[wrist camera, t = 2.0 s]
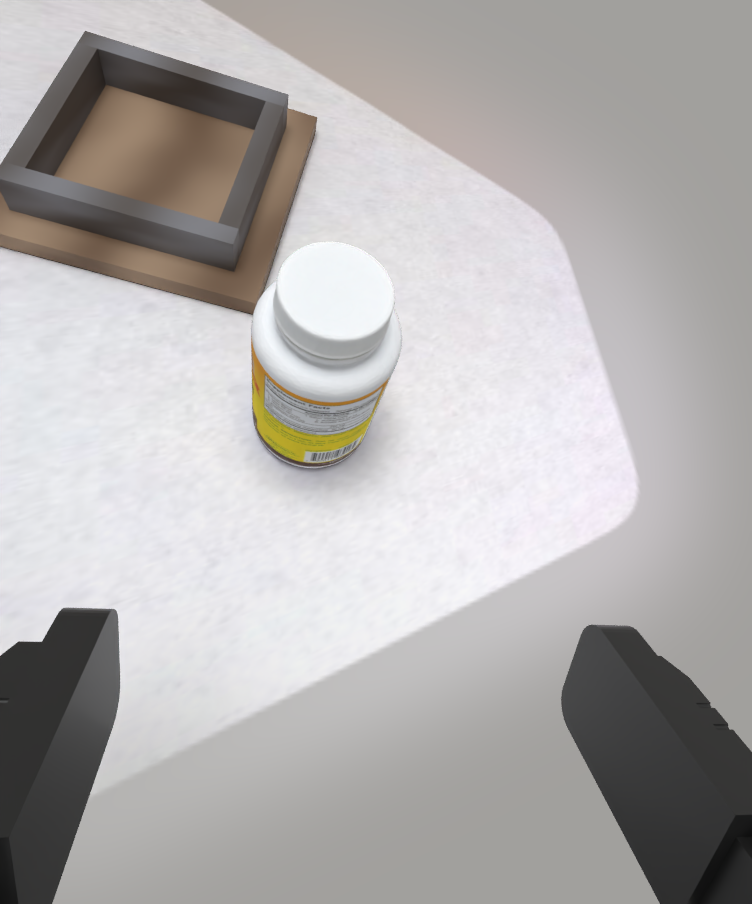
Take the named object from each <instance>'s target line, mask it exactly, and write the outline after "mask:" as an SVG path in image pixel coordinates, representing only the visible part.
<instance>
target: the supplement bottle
mask: <svg viewBox="0 0 752 904" xmlns="http://www.w3.org/2000/svg"><path fill="white" fill-rule="evenodd" d="M394 304H395V292H394V287H393V284H392V281H391V279H390V277H389V275H388V273H387V271H386V270H385V268H384V267H383V266H382V265H381V264H380V263H379V262H378V261H377V260H376V259H375V258H374V257H373V256H371V255H370V254H368V253H367V252H365V251H363V250H361V249H359V248H357V247H355V246H352V245H349V244H345V243H340V242H318V243H313V244H309V245H306V246H304V247H302V248H300V249H298V250H296V251H295V252H294V253H292V254H291V255H290V256H289V257H288V258H287V259H286V260H285V261H284V263H283V265H282V266H281V268H280V270H279V273H278V277H277V280H276V281H274V282H273V283H272V284H271V285H270V286H269V287H268V288H267V289H266V290H265V292H264V293H263V294H262V296H261V297H260V299H259V301H258V302H257V305H256V307H255V310H254V313H253V318H252V328H251V348H252V409H253V420H254V425H255V429H256V431H257V434H258V436H259V438H260V439H261V441H262V442H263V444H264V445H265V446H266V447H267V448H268V450H269V451H270V452H272V453H273V454H274V455H275V456H277V457H278V458H279V459H281V460H283V461H285V462H287V463H289V464H292V465H295V466H299V467H304V468H322V467H327V466H331V465H334V464H336V463H338V462H340V461H342V460H344V459H346V458H347V457H348V456H350V455H351V454H352V453H353V452H354V451H355V450H356V449H357V447H358V446H359V445H360V443H361V442H362V440H363V438H364V436H365V434H366V432H367V430H368V427H369V425H370V423H371V421H372V418H373V416H374V414H375V412H376V409H377V407H378V405H379V402H380V400H381V398H382V396H383V393H384V391H385V389H386V386H387V384H388V382H389V380H390V377H391V375H392V373H393V371H394V369H395V366H396V364H397V362H398V359H399V356H400V352H401V347H402V331H401V326H400V322H399V318H398V315H397V313H396V311H395V309H394Z"/></svg>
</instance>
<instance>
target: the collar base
mask: <svg viewBox="0 0 752 904" xmlns="http://www.w3.org/2000/svg"><path fill="white" fill-rule="evenodd" d="M316 122H317V117H314V116H311V115H308V114H304V113H301V112H298V111H295V110H291V109H288V94H284V93H281V92H278V91H275V90H272V89H269V88H265V87H262V86H259V85H256V84H253V83H249V82H246V81H243V80H240V79H237V78H233V77H230V76H227V75H224V74H221V73H218V72H214V71H211V70H208V69H205V68H202V67H198V66H195V65H192V64H189V63H186V62H182V61H179V60H176V59H173V58H170V57H167V56H163V55H160V54H157V53H154V52H151V51H147V50H144V49H141V48H138V47H135V46H131V45H128V44H125V43H122V42H119V41H115V40H112V39H109V38H106V37H103V36H100V35H96V34H93V33H90V32H87V31H85V32H84V34H83V35H82V37H81V38H80V40H79V42H78V43H77V45H76V46H75V48H74V49H73V51H72V53H71V54H70V56H69V57H68V59H67V61H66V62H65V64H64V65H63V67H62V68H61V70H60V72H59V73H58V75H57V76H56V78H55V79H54V81H53V83H52V84H51V86H50V87H49V89H48V91H47V92H46V94H45V95H44V97H43V98H42V100H41V102H40V103H39V105H38V106H37V108H36V109H35V111H34V113H33V114H32V116H31V117H30V119H29V121H28V122H27V124H26V125H25V127H24V128H23V130H22V132H21V133H20V135H19V136H18V138H17V139H16V141H15V143H14V144H13V146H12V147H11V149H10V151H9V152H8V154H7V155H6V157H5V158H4V160H3V162H2V163H1V165H0V246H1V247H4V248H8V249H12V250H16V251H19V252H23V253H27V254H30V255H34V256H38V257H42V258H45V259H49V260H53V261H56V262H60V263H64V264H68V265H71V266H75V267H79V268H82V269H86V270H90V271H94V272H97V273H101V274H105V275H108V276H112V277H116V278H120V279H123V280H127V281H131V282H134V283H138V284H142V285H146V286H149V287H153V288H157V289H160V290H164V291H168V292H172V293H175V294H179V295H183V296H186V297H190V298H194V299H198V300H201V301H205V302H209V303H212V304H216V305H220V306H224V307H227V308H231V309H235V310H238V311H242V312H246V313H250V314H253V313H254V310H255V307H256V305H257V302H258V301H259V299H260V297H261V296H262V294H263V291H264V288H265V285H266V282H267V279H268V276H269V273H270V270H271V266H272V263H273V260H274V257H275V254H276V251H277V248H278V245H279V242H280V239H281V236H282V233H283V230H284V227H285V224H286V221H287V218H288V214H289V211H290V208H291V205H292V202H293V199H294V196H295V193H296V190H297V187H298V184H299V181H300V178H301V175H302V172H303V169H304V165H305V162H306V159H307V156H308V153H309V150H310V147H311V144H312V141H313V138H314V135H315V131H316Z"/></svg>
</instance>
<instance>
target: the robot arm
mask: <svg viewBox="0 0 752 904" xmlns="http://www.w3.org/2000/svg"><path fill="white" fill-rule="evenodd" d="M119 693H120V664H119V632H118V615H117V611H116V610H115V609H92V608H63V609H62V610H61V611H60V612H59V613H58V615H57V617H56V618H55V620H54V622H53V624H52V625H51V627H50V629H49V631H48V632H47V634H46V636H45V638H44V639H43V641H42V642H17V643H16V644H15V645H14V646H12V647H11V648H10V649H9V650H7V651H6V652H5V653H3V654H2V655H1V656H0V904H52V902H53V899H54V896H55V893H56V891H57V888H58V885H59V882H60V879H61V876H62V873H63V870H64V867H65V864H66V862H67V859H68V856H69V853H70V850H71V847H72V844H73V841H74V838H75V835H76V833H77V829H78V827H79V824H80V821H81V818H82V815H83V812H84V809H85V806H86V803H87V801H88V798H89V795H90V792H91V789H92V786H93V783H94V780H95V777H96V774H97V771H98V769H99V766H100V763H101V760H102V757H103V754H104V751H105V748H106V745H107V742H108V740H109V737H110V734H111V731H112V728H113V725H114V721H115V717H116V713H117V708H118V702H119ZM561 698H562V699H561V701H562V712H563V716H564V720H565V723H566V725H567V727H568V729H569V731H570V733H571V735H572V737H573V739H574V741H575V743H576V745H577V747H578V749H579V750H580V752H581V754H582V756H583V758H584V760H585V762H586V764H587V766H588V768H589V769H590V771H591V773H592V775H593V777H594V779H595V781H596V783H597V785H598V787H599V788H600V790H601V792H602V794H603V796H604V798H605V800H606V802H607V804H608V806H609V807H610V809H611V811H612V813H613V815H614V817H615V819H616V821H617V823H618V825H619V826H620V828H621V830H622V832H623V834H624V836H625V838H626V840H627V842H628V844H629V845H630V847H631V849H632V851H633V853H634V855H635V857H636V859H637V861H638V863H639V865H640V866H641V868H642V870H643V872H644V874H645V876H646V878H647V880H648V882H649V883H650V885H651V887H652V889H653V891H654V893H655V895H656V897H657V899H658V901H659V902H660V904H752V752H751V751H750V750H749V748H748V747H747V746H746V745H745V744H744V742H743V741H742V740H741V739H740V738H739V736H738V735H737V734H736V733H735V732H734V730H729V728H728V723H727V722H726V721H725V720H724V719H723V717H722V716H721V715H720V714H719V713H718V712H717V710H716V709H715V708H711V706H710V702H709V701H708V699H707V698H706V697H705V696H704V695H703V694H702V692H701V691H700V690H699V689H698V688H697V686H696V685H695V684H694V683H693V682H692V680H691V679H690V678H689V677H688V676H686V675H685V674H684V673H682V672H681V671H680V670H679V669H677V668H676V667H674V666H673V665H672V664H671V663H669V662H668V661H667V660H666V659H664V658H663V657H662V656H657V655H656V653H655V652H654V651H653V650H652V648H651V647H650V646H649V645H648V644H647V642H646V641H645V640H644V639H643V637H642V636H641V635H640V634H639V632H638V631H637V630H636V629H634V628H633V627H630V626H615V625H589V626H587V627H586V628H585V629H584V630H583V632H582V634H581V637H580V640H579V643H578V645H577V648H576V652H575V654H574V657H573V660H572V663H571V666H570V669H569V672H568V675H567V677H566V681H565V683H564V686H563V690H562V697H561Z"/></svg>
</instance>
